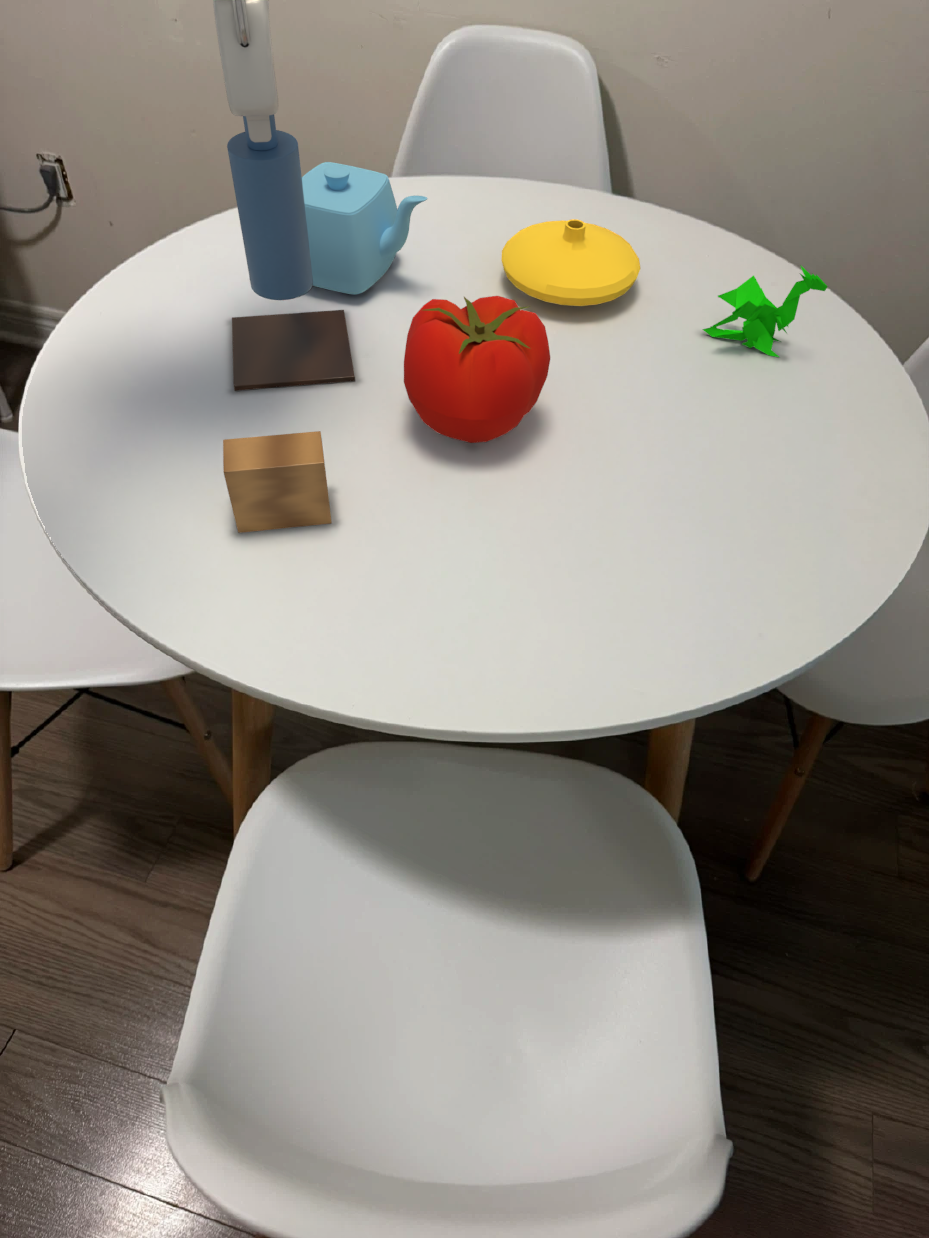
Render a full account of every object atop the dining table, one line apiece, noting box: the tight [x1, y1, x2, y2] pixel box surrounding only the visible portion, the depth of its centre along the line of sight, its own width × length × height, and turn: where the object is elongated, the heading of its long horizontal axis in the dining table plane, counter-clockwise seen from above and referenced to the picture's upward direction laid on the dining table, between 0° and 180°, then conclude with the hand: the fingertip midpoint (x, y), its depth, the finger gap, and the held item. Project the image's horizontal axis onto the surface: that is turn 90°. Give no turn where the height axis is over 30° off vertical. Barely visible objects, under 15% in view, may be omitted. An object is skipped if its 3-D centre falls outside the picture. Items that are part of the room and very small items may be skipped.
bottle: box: [226, 114, 313, 301], centre depth 79 cm, size 6×13×18 cm, turn 10°
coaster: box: [231, 309, 356, 392], centre depth 91 cm, size 12×12×1 cm
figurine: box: [702, 264, 829, 358], centre depth 92 cm, size 6×12×9 cm, turn 73°
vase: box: [500, 218, 641, 307], centre depth 99 cm, size 16×16×7 cm
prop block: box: [222, 430, 332, 534], centre depth 74 cm, size 8×4×7 cm, turn 100°
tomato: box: [403, 295, 551, 444], centre depth 81 cm, size 13×14×12 cm
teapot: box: [302, 161, 428, 295], centre depth 97 cm, size 12×18×12 cm
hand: (260, 128), depth 74 cm, fingers closed on bottle, 2 cm apart
